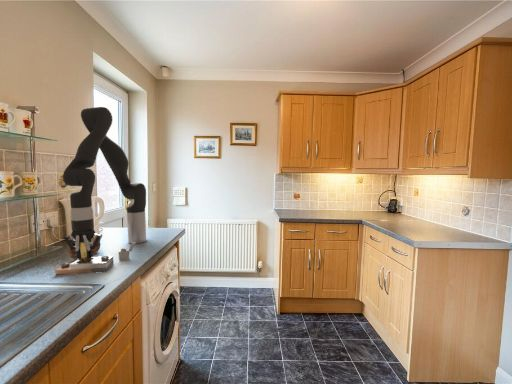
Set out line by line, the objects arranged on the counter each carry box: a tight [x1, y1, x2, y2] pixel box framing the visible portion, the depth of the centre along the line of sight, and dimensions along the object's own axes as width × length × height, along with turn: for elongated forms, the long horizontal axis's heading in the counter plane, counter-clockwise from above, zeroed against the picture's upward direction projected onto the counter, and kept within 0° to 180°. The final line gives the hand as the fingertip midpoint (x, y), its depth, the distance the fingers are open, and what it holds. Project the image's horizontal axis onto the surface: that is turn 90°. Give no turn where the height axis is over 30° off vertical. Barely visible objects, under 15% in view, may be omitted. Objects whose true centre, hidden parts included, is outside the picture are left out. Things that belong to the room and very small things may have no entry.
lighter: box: [118, 242, 137, 261], centre depth 115 cm, size 7×2×8 cm, turn 105°
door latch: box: [54, 255, 115, 275], centre depth 104 cm, size 8×18×5 cm, turn 99°
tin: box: [69, 237, 101, 260], centre depth 119 cm, size 15×3×8 cm, turn 168°
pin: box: [80, 242, 90, 263], centre depth 103 cm, size 3×3×9 cm
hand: (85, 258), depth 103 cm, fingers closed on pin, 3 cm apart
